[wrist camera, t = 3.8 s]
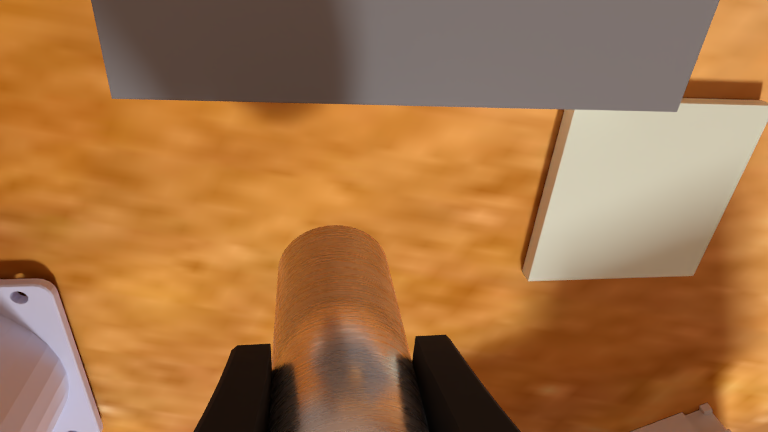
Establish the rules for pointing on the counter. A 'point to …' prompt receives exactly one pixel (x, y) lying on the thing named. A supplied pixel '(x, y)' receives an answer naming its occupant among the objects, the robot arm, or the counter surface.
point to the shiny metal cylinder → (340, 340)
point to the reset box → (406, 51)
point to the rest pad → (640, 189)
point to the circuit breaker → (688, 422)
